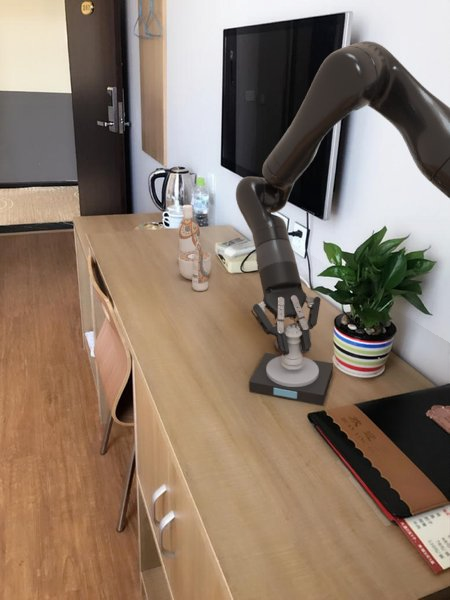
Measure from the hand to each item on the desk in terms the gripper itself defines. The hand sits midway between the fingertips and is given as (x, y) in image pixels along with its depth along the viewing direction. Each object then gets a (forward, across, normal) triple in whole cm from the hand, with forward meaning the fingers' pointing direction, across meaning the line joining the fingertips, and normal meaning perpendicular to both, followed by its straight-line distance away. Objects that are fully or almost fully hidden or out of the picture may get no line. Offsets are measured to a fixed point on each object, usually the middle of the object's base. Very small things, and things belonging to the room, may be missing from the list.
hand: (296, 352), depth 93 cm
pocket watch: (-4, +4, +15) cm, 16 cm away
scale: (+4, 0, +7) cm, 8 cm away
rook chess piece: (+2, 0, +4) cm, 5 cm away
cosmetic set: (-36, -10, +48) cm, 61 cm away
